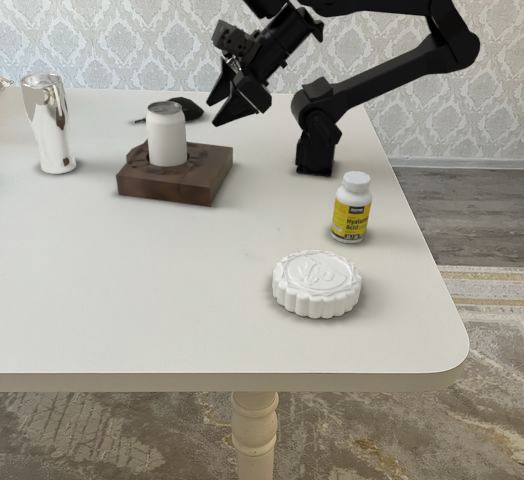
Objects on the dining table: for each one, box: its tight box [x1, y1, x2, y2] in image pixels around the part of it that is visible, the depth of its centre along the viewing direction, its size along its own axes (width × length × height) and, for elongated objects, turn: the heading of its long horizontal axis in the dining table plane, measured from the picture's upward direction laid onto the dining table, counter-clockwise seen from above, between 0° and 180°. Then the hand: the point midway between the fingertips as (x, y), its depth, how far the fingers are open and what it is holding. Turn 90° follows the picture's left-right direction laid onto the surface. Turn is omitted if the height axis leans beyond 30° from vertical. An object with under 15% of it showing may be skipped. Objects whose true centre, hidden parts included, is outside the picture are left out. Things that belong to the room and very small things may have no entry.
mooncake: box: [271, 249, 363, 319], centre depth 80 cm, size 12×12×4 cm
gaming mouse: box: [134, 96, 205, 124], centre depth 123 cm, size 6×15×4 cm, turn 113°
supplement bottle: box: [330, 170, 373, 244], centre depth 89 cm, size 5×5×10 cm
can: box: [145, 100, 187, 167], centre depth 101 cm, size 6×6×12 cm
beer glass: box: [19, 72, 77, 175], centre depth 101 cm, size 7×7×15 cm
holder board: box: [115, 137, 234, 208], centre depth 103 cm, size 17×16×4 cm
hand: (210, 114), depth 99 cm, fingers open, 9 cm apart
